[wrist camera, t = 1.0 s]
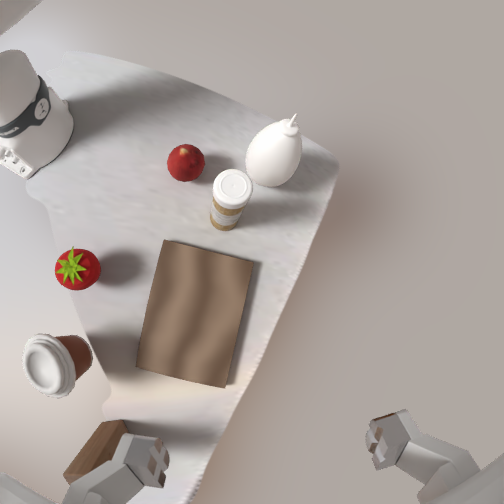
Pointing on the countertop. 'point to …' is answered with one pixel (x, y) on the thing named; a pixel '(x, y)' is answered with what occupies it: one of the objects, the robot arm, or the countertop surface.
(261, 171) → the sauce bottle
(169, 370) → the walnut board
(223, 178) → the sprinkles bottle
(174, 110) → the countertop surface
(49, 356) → the coffee cup
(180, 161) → the onion
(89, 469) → the wooden block
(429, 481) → the robot arm
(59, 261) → the strawberry
